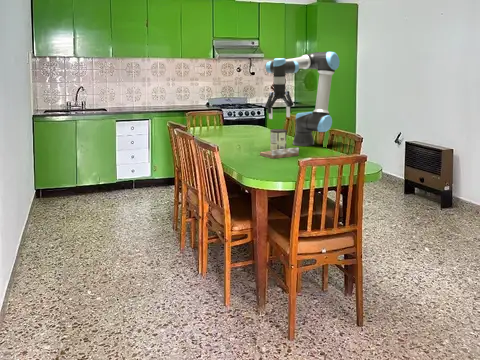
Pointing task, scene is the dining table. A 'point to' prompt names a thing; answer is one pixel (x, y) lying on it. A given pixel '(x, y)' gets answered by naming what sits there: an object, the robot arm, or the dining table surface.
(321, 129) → the robot arm
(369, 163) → the dining table surface
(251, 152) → the dining table surface
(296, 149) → the shelf board
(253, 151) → the dining table surface
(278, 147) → the coffee can
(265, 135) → the dining table surface
